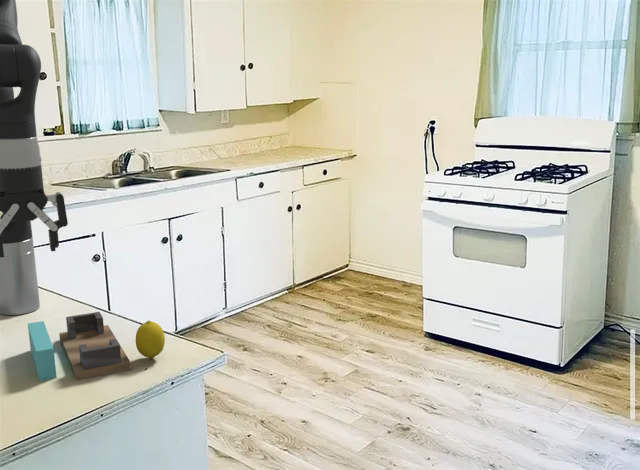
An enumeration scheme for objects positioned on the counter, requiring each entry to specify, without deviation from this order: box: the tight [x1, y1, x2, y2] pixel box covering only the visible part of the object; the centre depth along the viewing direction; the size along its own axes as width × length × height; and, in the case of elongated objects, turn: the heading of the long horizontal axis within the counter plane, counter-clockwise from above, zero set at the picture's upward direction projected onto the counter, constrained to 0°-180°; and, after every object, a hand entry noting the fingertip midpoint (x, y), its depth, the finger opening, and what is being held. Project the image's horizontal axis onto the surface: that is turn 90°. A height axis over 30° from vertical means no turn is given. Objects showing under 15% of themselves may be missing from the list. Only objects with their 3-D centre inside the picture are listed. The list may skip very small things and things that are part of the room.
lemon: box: [135, 320, 166, 360], centre depth 134 cm, size 6×6×8 cm
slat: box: [27, 320, 57, 382], centre depth 132 cm, size 16×3×6 cm, turn 28°
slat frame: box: [58, 311, 132, 381], centre depth 137 cm, size 22×10×5 cm, turn 28°
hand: (27, 253), depth 123 cm, fingers open, 8 cm apart
